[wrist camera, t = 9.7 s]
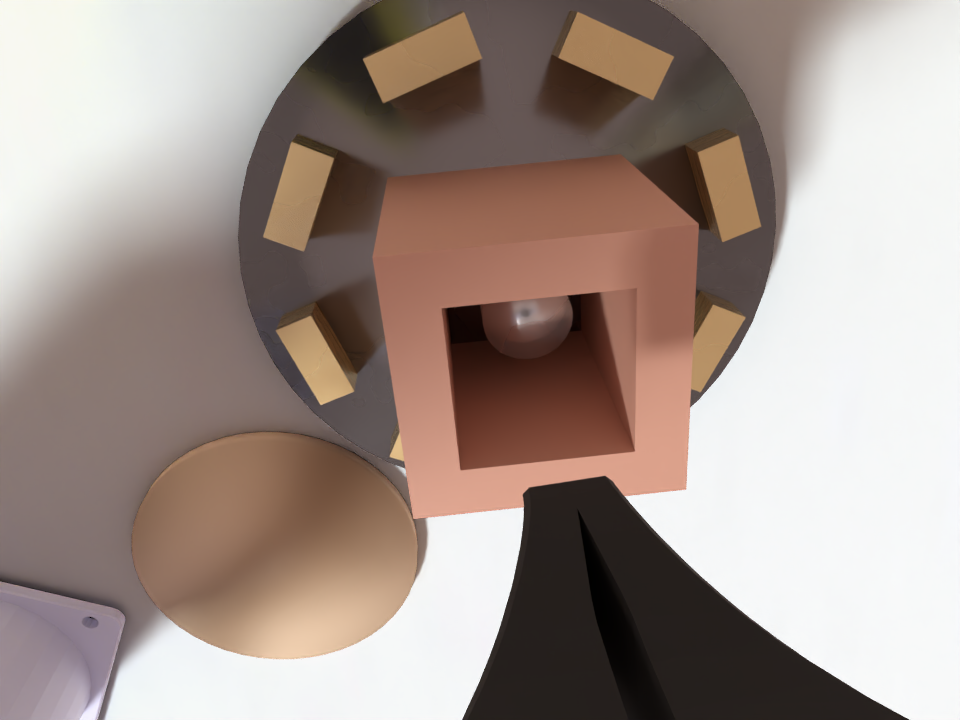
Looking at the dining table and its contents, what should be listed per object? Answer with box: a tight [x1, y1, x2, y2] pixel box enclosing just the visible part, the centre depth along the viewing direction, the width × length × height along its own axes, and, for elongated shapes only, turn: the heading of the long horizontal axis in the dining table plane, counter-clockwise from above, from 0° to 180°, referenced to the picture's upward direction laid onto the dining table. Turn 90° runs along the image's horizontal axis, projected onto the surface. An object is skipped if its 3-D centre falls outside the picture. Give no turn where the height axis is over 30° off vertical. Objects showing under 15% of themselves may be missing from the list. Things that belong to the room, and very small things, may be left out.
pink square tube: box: [372, 154, 699, 519], centre depth 17 cm, size 6×6×6 cm
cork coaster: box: [132, 432, 418, 659], centre depth 25 cm, size 9×9×1 cm
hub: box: [238, 0, 776, 468], centre depth 19 cm, size 14×14×4 cm
